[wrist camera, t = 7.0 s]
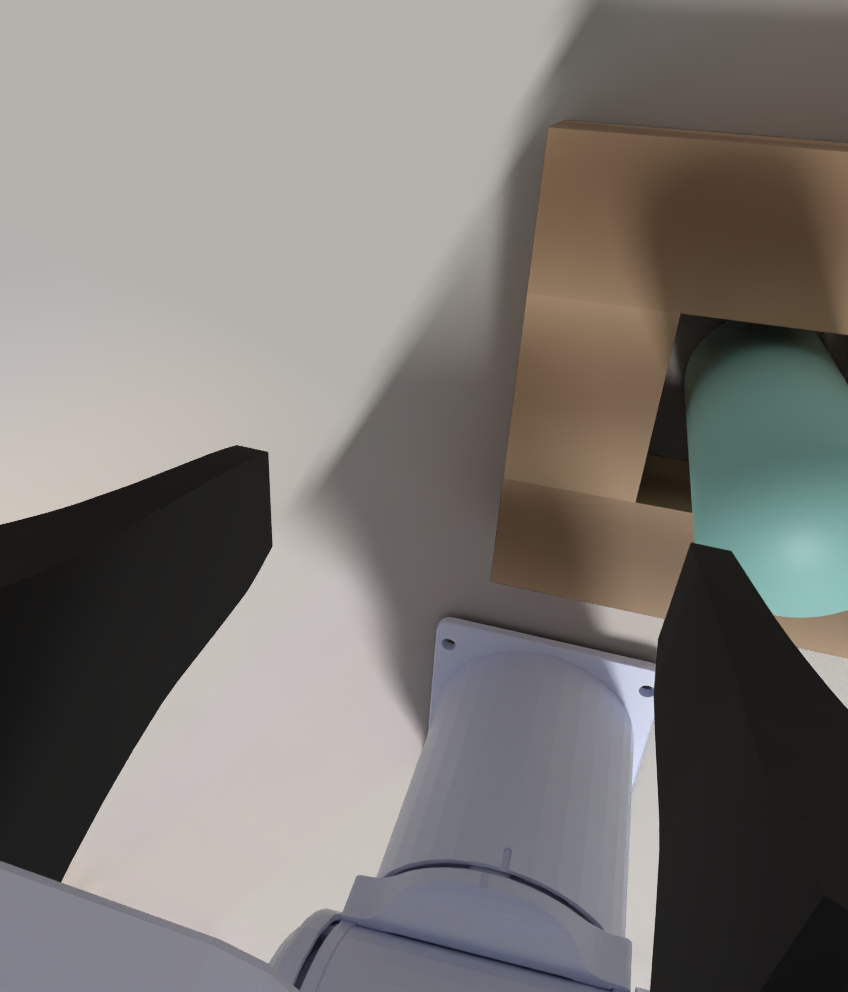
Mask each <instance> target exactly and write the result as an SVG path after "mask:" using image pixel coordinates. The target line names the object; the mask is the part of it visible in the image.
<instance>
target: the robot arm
mask: <svg viewBox="0 0 848 992" xmlns="http://www.w3.org/2000/svg"><path fill="white" fill-rule="evenodd" d="M269 482H270V481H269V460H268V452H265V451H261V450H257V449H252V448H247V447H243V446H238V445H236V446H232V447H229V448H225V449H222V450H219V451H217V452H214V453H211V454H208V455H206V456H203V457H201V458H198V459H195V460H193V461H190V462H188V463H185V464H183V465H180V466H178V467H175V468H173V469H170V470H167V471H165V472H162V473H160V474H157V475H155V476H152V477H150V478H147V479H144V480H142V481H139V482H137V483H134V484H132V485H129V486H126V487H123V488H120V489H118V490H115V491H112V492H109V493H106V494H103V495H100V496H97V497H95V498H92V499H89V500H86V501H83V502H81V503H78V504H74V505H71V506H68V507H65V508H62V509H58V510H55V511H51V512H48V513H45V514H41V515H37V516H33V517H29V518H26V519H22V520H18V521H14V522H10V523H6V524H2V525H0V992H630V989H631V961H632V942H631V941H630V940H629V939H628V938H625V929H626V906H627V884H628V862H629V839H630V817H631V795H632V789H633V786H634V783H635V779H636V776H637V773H638V770H639V766H640V763H641V760H642V757H643V753H644V750H645V747H646V744H647V741H648V737H649V734H650V731H651V728H652V724H653V721H654V720H655V742H656V762H657V782H658V802H659V866H658V884H657V901H656V917H655V931H654V945H653V959H652V973H651V985H650V991H649V990H645V989H641V988H637V987H636V989H635V992H848V709H847V708H846V707H845V706H844V705H843V703H842V702H841V701H840V700H839V699H838V698H837V697H836V695H835V694H834V693H833V692H832V691H831V690H830V688H829V687H828V686H827V685H826V684H825V682H824V681H823V680H822V679H821V677H820V676H819V675H818V674H817V672H816V671H815V670H814V669H813V668H812V666H811V665H810V664H809V663H808V661H807V660H806V659H805V658H804V656H803V655H802V654H801V652H800V651H799V650H798V648H797V647H796V646H795V644H794V643H793V642H792V640H791V639H790V638H789V636H788V635H787V634H786V632H785V631H784V629H783V628H782V627H781V625H780V624H779V622H778V621H777V620H776V618H775V617H774V615H773V614H772V612H771V611H770V609H769V608H768V606H767V605H766V603H765V602H764V600H763V599H762V597H761V596H760V594H759V593H758V591H757V590H756V588H755V586H754V585H753V583H752V582H751V580H750V579H749V577H748V576H747V574H746V573H745V571H744V569H743V568H742V566H741V565H740V563H739V562H738V560H737V559H736V557H735V556H734V554H733V553H732V551H729V550H725V549H720V548H715V547H711V546H706V545H701V544H697V543H692V542H691V543H690V546H689V549H688V552H687V555H686V558H685V561H684V564H683V567H682V570H681V573H680V576H679V579H678V582H677V585H676V588H675V591H674V594H673V597H672V600H671V603H670V606H669V609H668V611H667V614H666V617H665V620H664V623H663V626H662V629H661V632H660V635H659V638H658V647H657V658H656V664H655V663H651V662H647V661H643V660H638V659H634V658H629V657H625V656H621V655H616V654H612V653H607V652H603V651H599V650H594V649H590V648H585V647H581V646H577V645H572V644H568V643H564V642H559V641H555V640H550V639H546V638H542V637H537V636H533V635H528V634H524V633H520V632H515V631H511V630H506V629H502V628H498V627H493V626H489V625H484V624H480V623H476V622H471V621H467V620H463V619H458V618H454V617H446V618H443V619H442V620H441V621H440V622H439V625H438V627H437V630H436V642H435V654H434V666H433V678H432V690H431V702H430V713H429V725H428V735H427V738H426V740H425V743H424V746H423V749H422V752H421V754H420V757H419V760H418V763H417V766H416V768H415V771H414V774H413V777H412V780H411V782H410V785H409V788H408V791H407V794H406V796H405V799H404V802H403V805H402V808H401V810H400V813H399V816H398V819H397V821H396V824H395V827H394V830H393V833H392V835H391V838H390V841H389V844H388V847H387V849H386V852H385V855H384V858H383V861H382V863H381V866H380V869H379V872H378V875H377V877H369V876H363V875H358V876H356V879H355V881H354V884H353V887H352V889H351V892H350V894H349V897H348V900H347V902H346V905H345V907H344V910H343V912H338V911H334V910H330V909H322V910H318V911H316V912H315V913H314V914H312V915H311V916H310V917H308V918H307V919H306V920H305V921H304V922H303V923H302V925H301V926H300V927H299V928H297V929H296V930H295V931H293V932H292V933H291V934H290V935H289V936H288V937H287V938H286V939H285V940H284V941H283V943H282V944H281V945H280V947H279V948H278V950H277V951H276V952H275V954H274V956H273V957H272V959H271V961H270V962H269V964H268V963H266V962H264V961H262V960H260V959H258V958H256V957H254V956H252V955H250V954H248V953H246V952H244V951H242V950H240V949H238V948H236V947H234V946H232V945H230V944H228V943H226V942H224V941H222V940H220V939H217V938H215V937H212V936H209V935H206V934H203V933H201V932H198V931H195V930H192V929H189V928H187V927H184V926H181V925H178V924H175V923H173V922H170V921H167V920H164V919H161V918H159V917H156V916H153V915H150V914H147V913H145V912H142V911H139V910H136V909H133V908H131V907H128V906H125V905H122V904H119V903H117V902H114V901H111V900H108V899H105V898H103V897H100V896H97V895H94V894H91V893H89V892H86V891H83V890H80V889H77V888H75V887H72V886H69V885H66V884H63V883H61V881H62V879H63V877H64V875H65V873H66V871H67V869H68V867H69V865H70V863H71V861H72V859H73V857H74V855H75V854H76V852H77V850H78V848H79V846H80V844H81V842H82V841H83V839H84V837H85V835H86V833H87V831H88V829H89V827H90V826H91V824H92V822H93V820H94V818H95V816H96V814H97V813H98V811H99V809H100V807H101V805H102V803H103V801H104V800H105V798H106V796H107V794H108V793H109V791H110V789H111V787H112V786H113V784H114V782H115V780H116V779H117V777H118V775H119V774H120V772H121V770H122V768H123V767H124V765H125V763H126V761H127V760H128V758H129V756H130V755H131V753H132V751H133V749H134V748H135V746H136V744H137V743H138V741H139V740H140V738H141V736H142V735H143V733H144V732H145V730H146V728H147V727H148V725H149V723H150V722H151V720H152V719H153V717H154V715H155V714H156V712H157V710H158V709H159V707H160V706H161V704H162V702H163V701H164V700H165V698H166V697H167V695H168V694H169V693H170V691H171V690H172V688H173V687H174V686H175V684H176V683H177V681H178V680H179V679H180V678H181V676H182V675H183V674H184V672H185V671H186V670H187V669H188V667H189V666H190V665H191V663H192V662H193V661H194V660H195V658H196V657H197V656H198V655H199V653H200V652H201V651H202V649H203V648H204V647H205V646H206V644H207V643H208V642H209V640H210V639H211V638H212V637H213V635H214V634H215V633H216V631H217V630H218V629H219V628H220V626H221V625H222V624H223V622H224V621H225V620H226V619H227V617H228V616H229V615H230V613H231V612H232V611H233V609H234V608H235V607H236V605H237V604H238V603H239V602H240V600H241V599H242V597H243V596H244V595H245V593H246V592H247V591H248V589H249V587H250V586H251V584H252V582H253V581H254V579H255V577H256V575H257V574H258V572H259V570H260V568H261V567H262V565H263V563H264V561H265V559H266V557H267V555H268V554H269V552H270V550H271V548H272V526H271V504H270V483H269ZM445 639H450V640H452V641H453V642H454V643H449V642H447V641H446V640H445ZM642 686H650V687H652V688H651V689H644V688H642Z"/></svg>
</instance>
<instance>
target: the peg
mask: <svg viewBox="0 0 848 992" xmlns="http://www.w3.org/2000/svg"><path fill="white" fill-rule="evenodd" d="M684 393H685V408H686V423H687V438H688V453H689V468H690V483H691V498H692V513H693V528H694V543H697V544H701V545H706V546H711V547H715V548H720V549H725V550H729V551H732V553H733V554H734V556H735V557H736V559H737V560H738V562H739V563H740V565H741V566H742V568H743V569H744V571H745V573H746V574H747V576H748V577H749V579H750V580H751V582H752V583H753V585H754V586H755V588H756V590H757V591H758V593H759V594H760V596H761V597H762V599H763V600H764V602H765V603H766V605H767V606H768V608H769V609H770V611H771V612H772V614H773V615H776V616H783V617H795V618H807V617H820V616H826V615H832V614H836V613H839V612H843V611H847V610H848V384H847V382H846V381H845V379H844V377H843V376H842V374H841V372H840V371H839V369H838V367H837V366H836V364H835V362H834V360H833V359H832V357H831V355H830V354H829V352H828V350H827V349H826V347H825V345H824V344H823V342H822V341H821V339H820V338H819V337H818V335H817V334H816V333H815V332H814V331H812V330H805V329H797V328H789V327H782V326H774V325H766V324H759V323H751V322H743V321H735V320H730V321H728V322H726V323H724V324H722V325H721V326H719V327H717V328H716V329H714V330H713V331H712V332H710V333H709V334H708V335H707V336H706V337H705V338H704V339H703V340H702V341H701V342H700V343H699V345H698V346H697V347H696V348H695V350H694V352H693V353H692V355H691V357H690V359H689V362H688V364H687V367H686V371H685V377H684Z"/></svg>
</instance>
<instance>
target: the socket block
mask: <svg viewBox="0 0 848 992" xmlns="http://www.w3.org/2000/svg"><path fill="white" fill-rule="evenodd" d="M681 313H682V314H689V315H697V316H705V317H712V318H720V319H728V320H735V321H743V322H751V323H759V324H766V325H774V326H782V327H789V328H797V329H805V330H812V331H820V332H828V333H835V334H843V335H848V143H846V142H834V141H821V140H808V139H796V138H783V137H771V136H758V135H745V134H733V133H720V132H708V131H695V130H682V129H670V128H657V127H645V126H632V125H619V124H607V123H594V122H582V121H569V120H563V121H561V122H559V123H557V124H555V125H552V126H550V127H548V133H547V140H546V148H545V156H544V164H543V172H542V180H541V187H540V195H539V203H538V211H537V219H536V227H535V234H534V242H533V250H532V258H531V266H530V274H529V281H528V289H527V297H526V305H525V313H524V321H523V328H522V336H521V344H520V352H519V360H518V368H517V375H516V383H515V391H514V399H513V407H512V414H511V422H510V430H509V438H508V446H507V454H506V461H505V469H504V477H503V485H502V493H501V501H500V508H499V516H498V524H497V532H496V540H495V548H494V555H493V563H492V571H491V579H490V582H495V583H500V584H504V585H509V586H514V587H518V588H523V589H527V590H532V591H537V592H541V593H546V594H551V595H555V596H560V597H565V598H569V599H574V600H579V601H583V602H588V603H593V604H597V605H602V606H607V607H611V608H616V609H621V610H625V611H630V612H634V613H639V614H644V615H648V616H653V617H658V618H662V619H665V617H666V614H667V611H668V609H669V606H670V603H671V600H672V597H673V594H674V591H675V588H676V585H677V582H678V579H679V576H680V573H681V570H682V567H683V564H684V561H685V558H686V555H687V552H688V549H689V546H690V543H691V542H692V543H694V528H693V513H692V498H691V483H690V468H689V461H683V460H677V459H672V458H666V457H660V456H654V455H648V454H647V452H648V448H649V444H650V440H651V436H652V431H653V427H654V423H655V419H656V415H657V410H658V406H659V402H660V398H661V394H662V390H663V385H664V381H665V377H666V373H667V369H668V364H669V360H670V356H671V352H672V348H673V343H674V339H675V335H676V331H677V327H678V323H679V318H680V314H681ZM774 617H775V618H776V620H777V621H778V622H779V624H780V625H781V627H782V628H783V629H784V631H785V632H786V634H787V635H788V636H789V638H790V639H791V640H792V642H793V643H794V644H795V646H796V647H797V648H802V649H807V650H811V651H816V652H821V653H825V654H830V655H835V656H839V657H844V658H848V610H847V611H843V612H839V613H836V614H832V615H826V616H820V617H807V618H795V617H783V616H776V615H774Z"/></svg>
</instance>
